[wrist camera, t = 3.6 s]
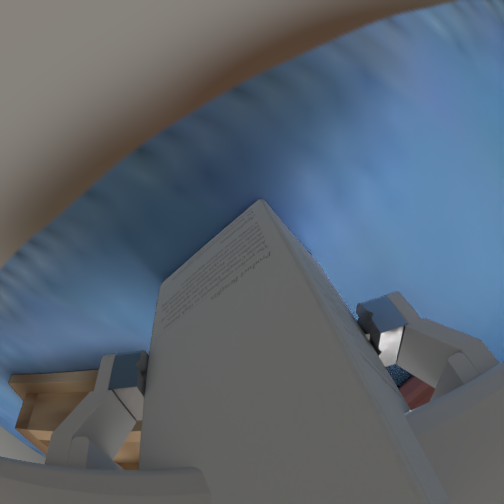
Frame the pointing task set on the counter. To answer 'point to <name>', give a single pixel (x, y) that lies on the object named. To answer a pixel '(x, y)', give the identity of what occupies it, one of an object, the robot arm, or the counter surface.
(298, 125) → the counter surface
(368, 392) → the skincare box
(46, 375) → the wooden tray
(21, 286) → the counter surface
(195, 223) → the counter surface
